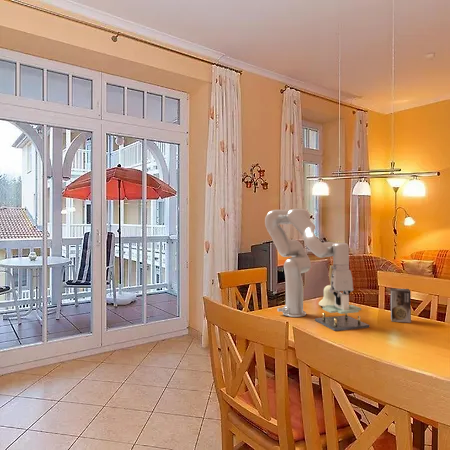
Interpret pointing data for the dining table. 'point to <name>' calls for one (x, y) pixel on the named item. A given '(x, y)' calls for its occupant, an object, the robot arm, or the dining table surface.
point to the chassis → (341, 322)
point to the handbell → (328, 294)
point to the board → (332, 310)
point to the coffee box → (400, 305)
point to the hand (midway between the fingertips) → (341, 304)
